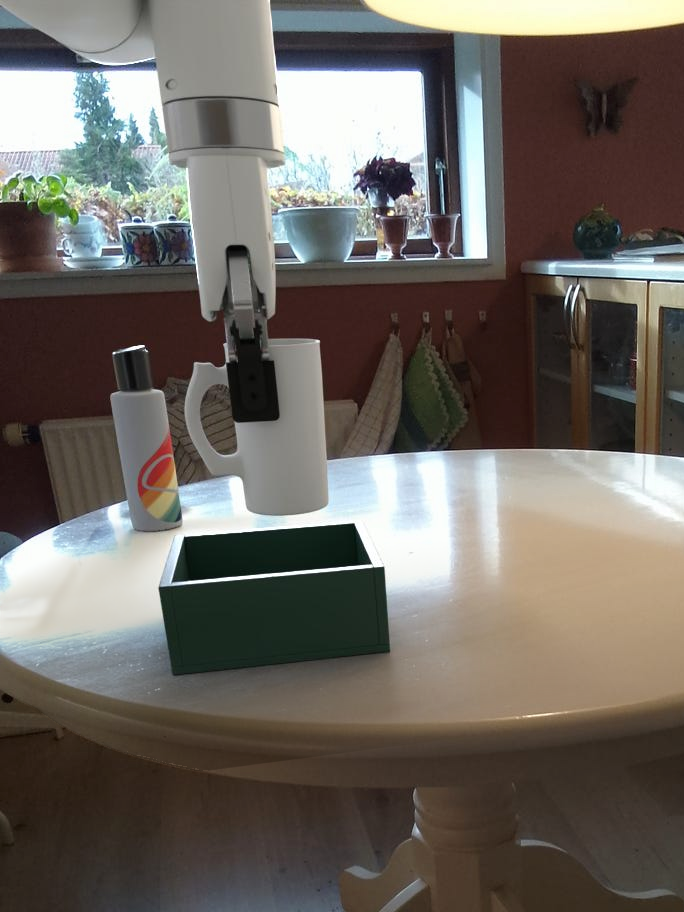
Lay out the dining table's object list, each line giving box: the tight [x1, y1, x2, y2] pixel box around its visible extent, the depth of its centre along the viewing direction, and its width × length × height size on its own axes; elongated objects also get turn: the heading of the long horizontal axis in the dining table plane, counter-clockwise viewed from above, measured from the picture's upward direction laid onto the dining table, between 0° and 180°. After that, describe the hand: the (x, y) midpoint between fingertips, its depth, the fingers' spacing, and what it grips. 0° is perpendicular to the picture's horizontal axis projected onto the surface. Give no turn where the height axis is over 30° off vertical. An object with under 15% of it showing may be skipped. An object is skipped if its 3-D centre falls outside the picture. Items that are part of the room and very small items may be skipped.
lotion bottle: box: [109, 345, 183, 532], centre depth 104 cm, size 6×6×20 cm
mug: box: [184, 338, 330, 517], centre depth 68 cm, size 10×7×12 cm, turn 113°
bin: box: [157, 520, 391, 676], centre depth 73 cm, size 16×15×7 cm
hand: (256, 412), depth 68 cm, fingers closed on mug, 6 cm apart
